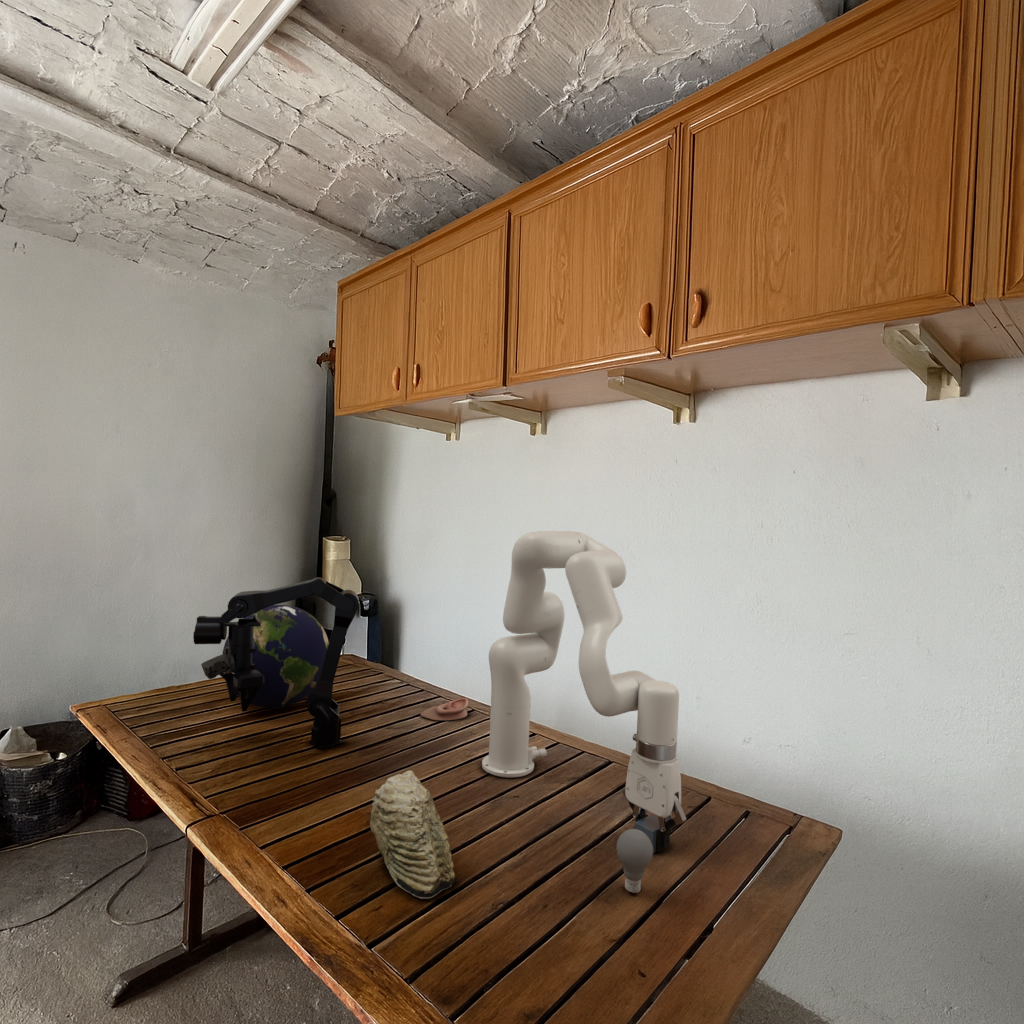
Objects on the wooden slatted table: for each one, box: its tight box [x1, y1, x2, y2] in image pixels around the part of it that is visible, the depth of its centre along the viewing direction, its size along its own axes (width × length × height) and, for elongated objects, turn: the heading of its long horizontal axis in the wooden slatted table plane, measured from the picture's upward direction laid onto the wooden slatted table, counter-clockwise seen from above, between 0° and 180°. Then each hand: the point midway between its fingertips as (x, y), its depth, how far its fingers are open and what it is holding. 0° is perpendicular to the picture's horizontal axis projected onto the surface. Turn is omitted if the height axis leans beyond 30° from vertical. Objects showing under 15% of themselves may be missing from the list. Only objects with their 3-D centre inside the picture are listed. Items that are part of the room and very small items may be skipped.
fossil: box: [369, 769, 456, 900], centre depth 109 cm, size 9×18×15 cm, turn 46°
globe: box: [221, 604, 329, 709], centre depth 188 cm, size 30×30×30 cm
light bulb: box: [615, 828, 654, 894], centre depth 106 cm, size 6×6×10 cm
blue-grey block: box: [634, 814, 666, 854], centre depth 121 cm, size 4×5×4 cm
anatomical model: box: [419, 697, 469, 721], centre depth 187 cm, size 13×4×12 cm
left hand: (238, 706), depth 157 cm, fingers open, 9 cm apart
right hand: (651, 842), depth 121 cm, fingers closed on blue-grey block, 4 cm apart
